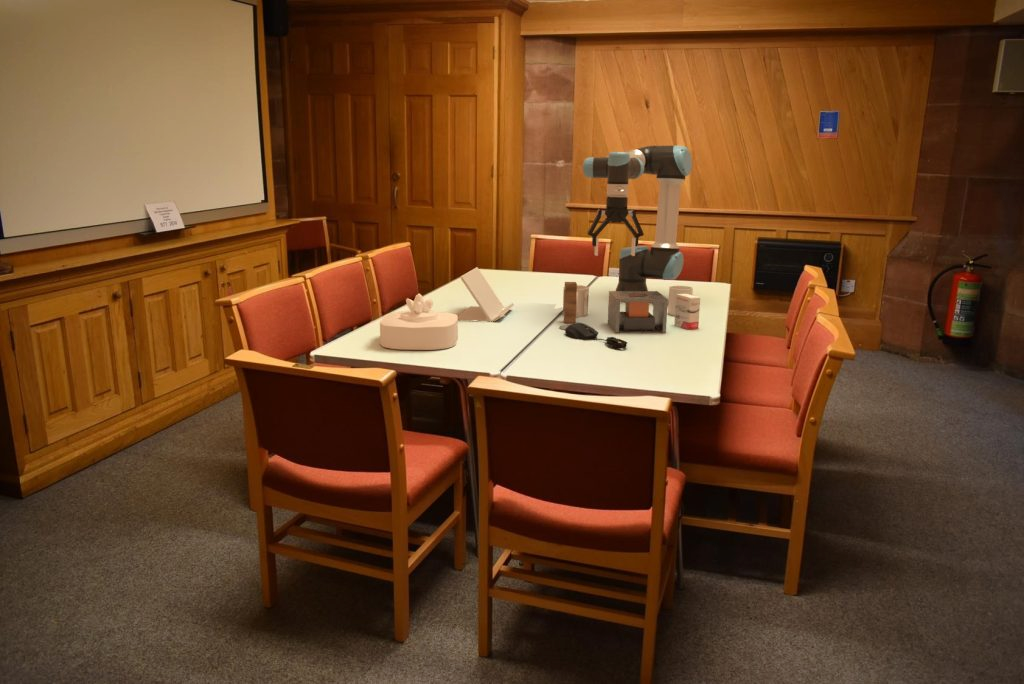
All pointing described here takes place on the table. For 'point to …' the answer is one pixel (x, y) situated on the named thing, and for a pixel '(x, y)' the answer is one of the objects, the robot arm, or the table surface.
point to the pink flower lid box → (419, 327)
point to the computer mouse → (591, 335)
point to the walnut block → (570, 302)
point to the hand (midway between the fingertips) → (614, 255)
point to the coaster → (563, 327)
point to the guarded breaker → (637, 323)
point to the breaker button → (637, 309)
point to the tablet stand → (482, 299)
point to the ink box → (687, 311)
